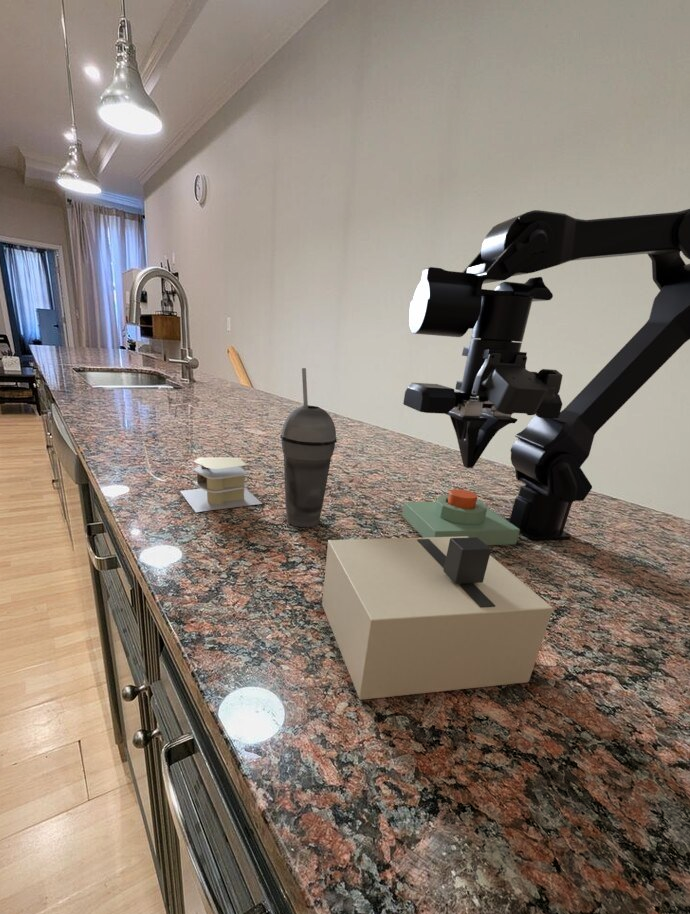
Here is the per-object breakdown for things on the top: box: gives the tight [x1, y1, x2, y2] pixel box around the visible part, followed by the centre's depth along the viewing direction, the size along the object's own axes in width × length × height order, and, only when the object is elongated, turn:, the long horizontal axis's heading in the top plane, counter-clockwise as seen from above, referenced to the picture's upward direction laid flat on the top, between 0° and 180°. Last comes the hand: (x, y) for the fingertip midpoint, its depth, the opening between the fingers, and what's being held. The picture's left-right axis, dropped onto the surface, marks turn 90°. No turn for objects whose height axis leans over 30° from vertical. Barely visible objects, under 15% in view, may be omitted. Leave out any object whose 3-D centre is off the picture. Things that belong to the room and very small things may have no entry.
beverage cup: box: [279, 367, 338, 528], centre depth 58 cm, size 7×7×20 cm
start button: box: [448, 488, 479, 509], centre depth 60 cm, size 4×4×2 cm
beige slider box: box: [321, 536, 554, 701], centre depth 38 cm, size 14×12×7 cm
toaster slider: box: [443, 537, 492, 584], centre depth 35 cm, size 2×2×3 cm
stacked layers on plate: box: [179, 456, 263, 513], centre depth 66 cm, size 10×9×6 cm
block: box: [401, 494, 520, 546], centre depth 61 cm, size 12×10×4 cm
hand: (467, 467), depth 59 cm, fingers closed
